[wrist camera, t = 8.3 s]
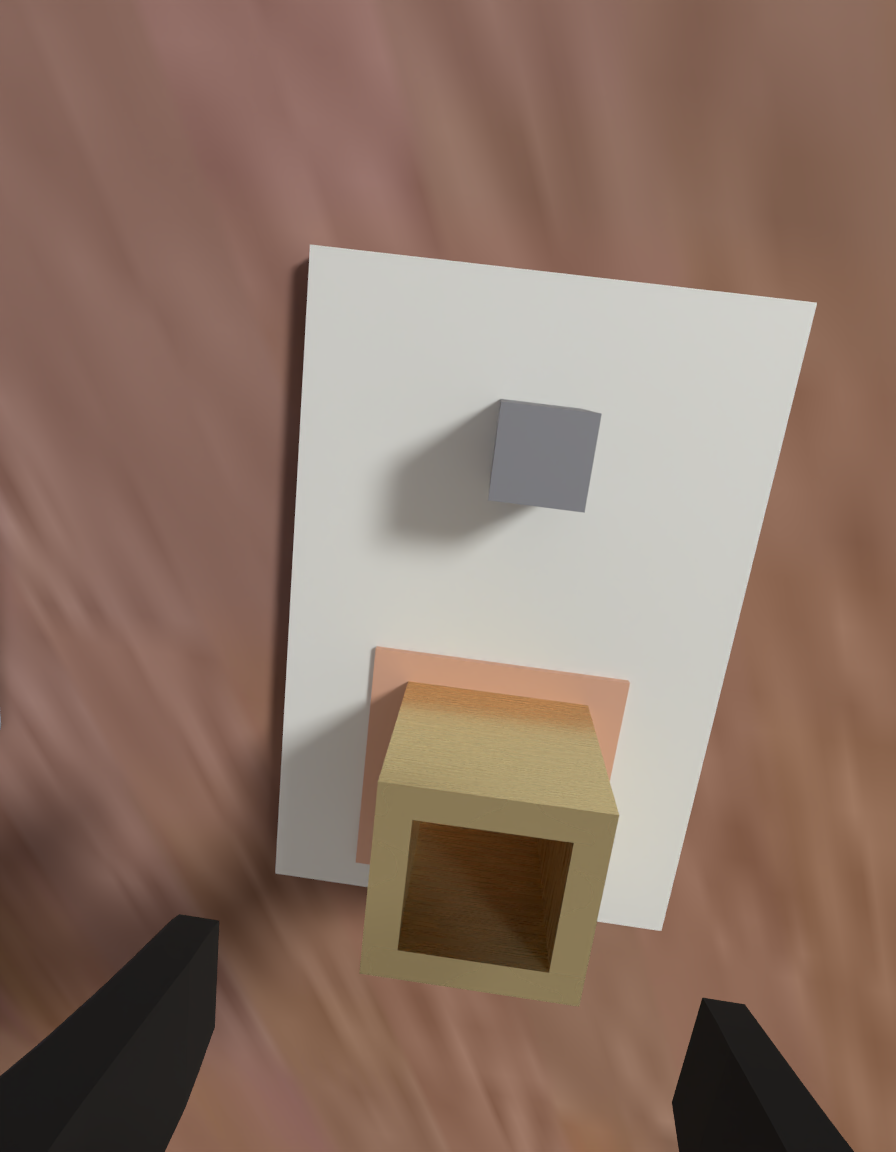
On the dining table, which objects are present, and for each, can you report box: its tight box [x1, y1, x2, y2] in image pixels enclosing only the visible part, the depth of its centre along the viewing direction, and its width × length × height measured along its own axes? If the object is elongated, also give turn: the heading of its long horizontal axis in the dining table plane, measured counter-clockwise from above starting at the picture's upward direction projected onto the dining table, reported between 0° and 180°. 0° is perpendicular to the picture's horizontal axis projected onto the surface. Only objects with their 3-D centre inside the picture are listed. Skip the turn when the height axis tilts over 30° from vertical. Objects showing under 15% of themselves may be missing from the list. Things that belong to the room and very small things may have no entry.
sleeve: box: [360, 681, 619, 1006], centre depth 17 cm, size 5×5×5 cm
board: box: [275, 245, 817, 931], centre depth 17 cm, size 12×18×4 cm, turn 173°
